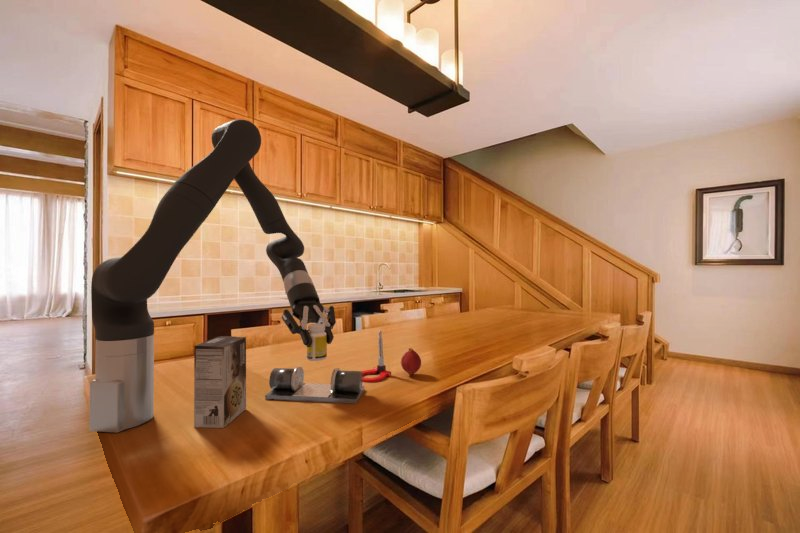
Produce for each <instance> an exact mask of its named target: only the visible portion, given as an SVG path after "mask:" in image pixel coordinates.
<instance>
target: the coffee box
mask: <svg viewBox="0 0 800 533" xmlns="http://www.w3.org/2000/svg"><path fill="white" fill-rule="evenodd" d="M193 349H194V350H193V352H194V356H193V357H194V362H193V365H194V367H193V368H194V369H193V370H194V371H193V372H194V379H193V380H194V381H193V385H194V389H193V393H194V394H193V397H194V398H193V399H194V400H193V404H194V405H193V428H211V429H213V428H214V429H215V428H217V429H225V428H226V427H227V426H228V425H229V424H230V423H232V422H233V421H234V420H235V419H236V418H237V417H239V416H240V415H241V414H242V413H243V412H244V411H245V410H246V409H247V336H232V335H231V336H228V335H224V336H222V335H220V336H216V337H214V338H212V339H209V340H205V341H203V342H201V343H198V344H195V345H194V348H193Z"/></svg>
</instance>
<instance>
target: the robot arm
mask: <svg viewBox="0 0 800 533" xmlns="http://www.w3.org/2000/svg"><path fill="white" fill-rule="evenodd" d="M211 143H212V146H213V149H212V151H211V152H210V153H209V154H208V155H206V156H205V157H204V158H203V159H201V160H200V161H199V162H197V163H196V164H194V165H193V166H192V167H190V168H189V169H187V171H186V172H184V173H183V174H182V175H181V176H179V178H177V180H176V181H175V182H174V183H173V184H172V185H171V187H170V188H169V189H168V190H166V192H165V193H164V195H163V197H161V199H160V200H159V203H158V204H157V207H156V209H155V211H154V214H153V216H152V219H151V221H150V224H149V225H148V227H147V229H146V231H145V232H144V234H143V235H142V236H141V237H140V238H139V239H138V241H137V242H136V243H134V245H132V247H131V248H130V249H129V250H127V252H126V253H125V254H123V256H118V257H113V258H109V259H107V260H104V261H102V262H100V264H99V265H97V267H96V268H95V269H94V271H93V273H92V277H91V288H90V291H91V292H90V295H91V296H90V297H91V299H90V300H91V319H92V324H93V327H94V330H95V331H94V332H95V350H94V351H95V360H94V363H95V364H94V365H95V366H94V367H95V368H94V371H95V372H94V379H92V380H90V382H89V418H88V419H89V422H88V423H89V427H88V428H89V429H88V431H89V432H102V433H103V432H104V433H116V434H117V433H120V432H122V431H124V430H129V429H132V428H135V427H138V426H141V425H143V424H145V423H147V422H149V421H150V420H152V419H153V418H154V412H155V411H154V408H155V406H154V401H155V400H154V396H155V395H154V394H155V393H154V390H155V389H154V387H155V386H154V385H155V384H154V383H155V379H154V378H155V373H154V371H155V370H154V369H155V362H154V361H155V351H154V350H155V322H154V320H153V318H152V317H151V315H150V313H149V308H148V299H149V298H151V297H152V296H154V295H155V293H156V292H157V291H158V290H159V288H160V287H161V285H162V283H163V282H164V280H165V278H166V276H167V275H168V273H169V271H170V269H171V267H172V266H173V264H174V262H175V261H176V259H177V257H178V256H179V255H180V253H181V251H182V250H183V248H184V247H185V246H186V245H187V244H188V242H189V241H190V240H191V238H192V237H194V235H195V234H196V233H197V231H198V230H199V228H200V227H201V226H202V224H203V223H204V222H205V221H206V220H207V218H208V217H209V215H210V214H211V213H212V212H213V210H214V208H216V206H217V204H218V203H219V201H220V200H221V198H222V197H223V195H224V194H225V193H226V191H227V190H228V188H229V187H230V185H231V184H232V182H233V181H235V183H236V184H237V185H238V186H239V188H240V190H241V192H242V193H243V194H244V197H245V198H246V200H247V201H248V203H249V206H250V207H251V209H252V211H253V213H254V215H255V217H256V220H257V222H258V224H259V225H260V228H261V230H262V232H263V233H265V234H266V235H273V234H282V235H284V236H283V237H280V238H277V239H275V240H273V241H271V242H268V244H267V245H266V248H265V252H266V255H267V257H268V259H269V260H270V261H271V263H272V264H273V265H274V266H275V267H276V268H277V270H278V272H279V273H280V276H281V279H282V282H283V287H284V292H285V295H286V297H287V300H288V303H289V306H290V308H291V310H289V309H284V310H283V313H282V314H281V319H282V320H283V323H284V324H285V325H286V326H287V328H288V329H289V331H290V333H291V334H292V335H295V334H298V335H300V338H301V341H302V344H303V345H304V346H306V348H307V347H310V346H311V344H312V339H311V337H310V334H309V331H308V328H307V327H308V326H307V325H309V324H310V323H311V324H325V330H324V332H326V334H327V345H330V344H332V342H333V340H334V337H335V336H334V334H333V332H332V330H333V329H334V327H335V325H336V323H337V321H336V320H337V319H336V313H335V307H334V306H333V305H330V306H329V307H324V305H323V304H322V303H321V302H320V301H321V300H320V297H319V295H318V292H317V290H316V287H315V285H314V282H313V280H312V278H311V276H310V275H309V272H308V269H307V268H306V265H305V262H304V261H303V260H302V259H301V258H300V257H301V256H303V254H304V252H305V245H304V243H303V242H302V240H301V238H299V236H298V234H296V232H294V230H293V229H292V228H291V226H290V225H289V223H288V221H287V219H286V218H285V215H284V213H283V210H282V209H281V206H280V205H279V202H278V200H277V199H276V197H275V196H274V194H273V193H272V192H271V191H270V189H268V188H267V187H266V185H265V184H264V183H263V182H262V181H261V180H260V179H259V177H258V175H257V174H256V172H254V169H253V168H252V166H251V164H250V161H251V160H252V159H253V158H254V157H255V156H256V155H257V154H258V152H259V151H260V149H261V145H262V135H261V132H260V130H259V128H258V127H257V125H255V124H254V123H253V122H251V121H249V120H246V119H232V120H231V121H228V122H225V123H223V124H221V125H219V126H217V127H215V128H214V130H213V131H212V134H211ZM295 318H296V319H297V321H298V320H299V322H298V323H297V321H296V319H295Z"/></svg>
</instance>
